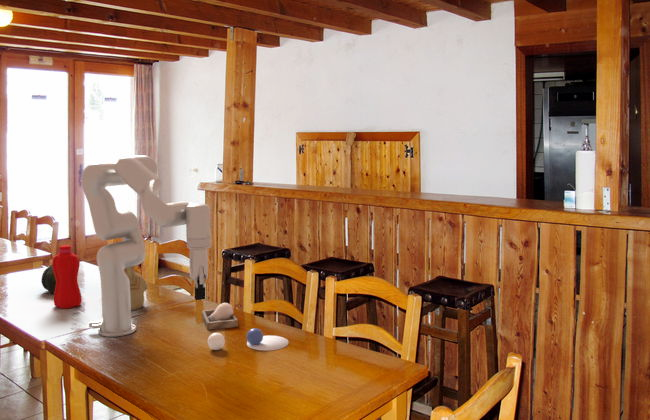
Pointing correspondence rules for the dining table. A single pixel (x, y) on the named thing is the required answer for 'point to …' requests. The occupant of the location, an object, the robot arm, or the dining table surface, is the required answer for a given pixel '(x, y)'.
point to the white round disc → (270, 343)
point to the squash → (49, 280)
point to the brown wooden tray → (218, 324)
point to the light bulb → (221, 313)
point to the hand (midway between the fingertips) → (200, 299)
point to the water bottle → (66, 278)
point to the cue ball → (216, 341)
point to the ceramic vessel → (136, 288)
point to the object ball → (254, 336)
